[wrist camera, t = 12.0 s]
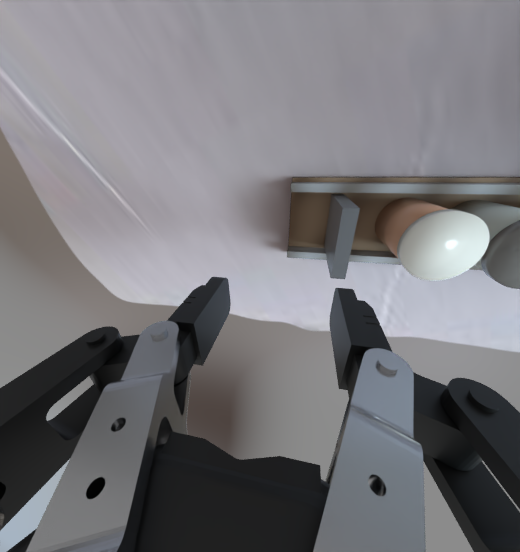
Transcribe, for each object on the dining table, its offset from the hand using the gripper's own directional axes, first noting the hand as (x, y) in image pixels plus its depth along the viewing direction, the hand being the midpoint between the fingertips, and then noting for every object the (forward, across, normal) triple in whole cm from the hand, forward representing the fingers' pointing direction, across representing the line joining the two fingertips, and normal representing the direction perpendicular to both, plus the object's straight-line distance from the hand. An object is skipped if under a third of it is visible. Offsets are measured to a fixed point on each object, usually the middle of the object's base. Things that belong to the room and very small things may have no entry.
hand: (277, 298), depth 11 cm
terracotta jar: (+16, -12, 0) cm, 20 cm away
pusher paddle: (+16, -4, 0) cm, 17 cm away
